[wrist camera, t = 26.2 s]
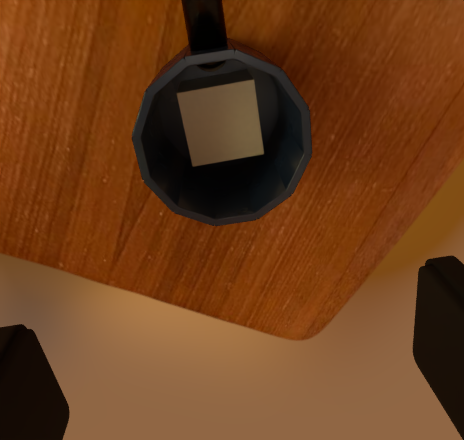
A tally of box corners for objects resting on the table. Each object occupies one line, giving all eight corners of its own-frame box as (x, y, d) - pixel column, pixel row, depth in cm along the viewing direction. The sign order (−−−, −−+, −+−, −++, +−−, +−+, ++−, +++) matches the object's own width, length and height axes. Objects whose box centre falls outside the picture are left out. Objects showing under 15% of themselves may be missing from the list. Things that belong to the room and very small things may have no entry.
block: (194, 145, 33) (192, 166, 29) (180, 81, 31) (176, 93, 27) (256, 134, 33) (264, 154, 29) (247, 69, 31) (254, 79, 26)
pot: (156, 235, 26) (62, -131, 18) (169, 177, 35) (110, -84, 27) (315, 211, 26) (294, -169, 18) (287, 159, 35) (264, -110, 27)
